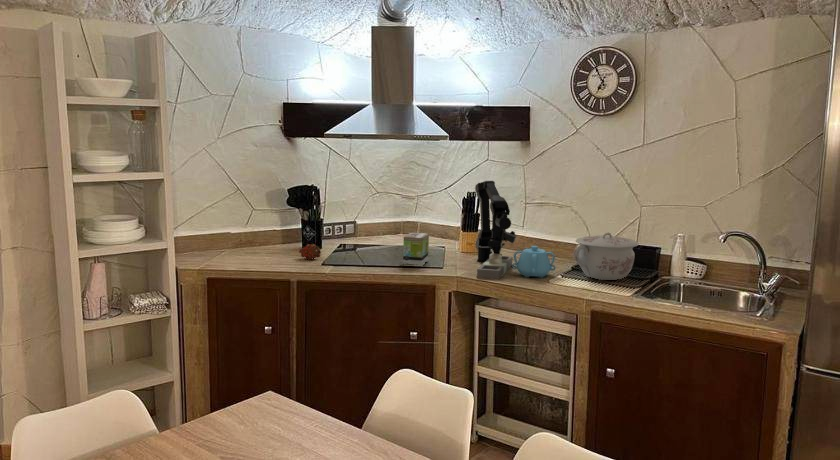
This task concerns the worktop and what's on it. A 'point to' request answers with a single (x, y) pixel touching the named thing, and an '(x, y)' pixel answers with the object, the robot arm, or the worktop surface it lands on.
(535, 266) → the decorative pot
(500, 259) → the cream block
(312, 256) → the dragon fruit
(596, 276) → the chamber pot
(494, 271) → the trap deck
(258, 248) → the worktop surface
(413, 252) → the tea box
